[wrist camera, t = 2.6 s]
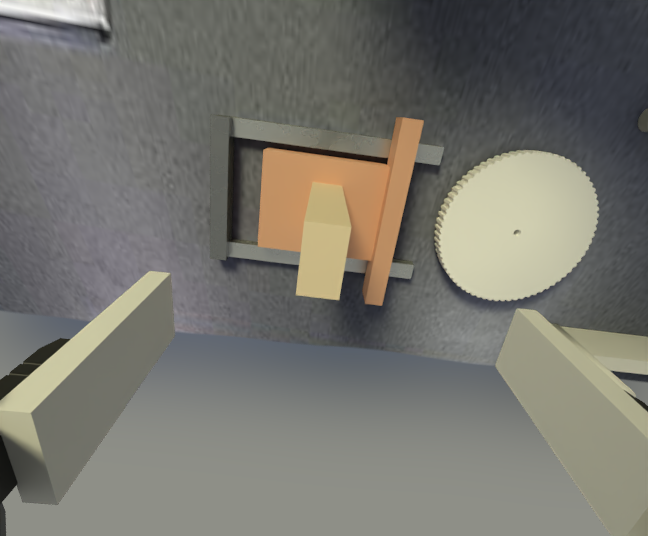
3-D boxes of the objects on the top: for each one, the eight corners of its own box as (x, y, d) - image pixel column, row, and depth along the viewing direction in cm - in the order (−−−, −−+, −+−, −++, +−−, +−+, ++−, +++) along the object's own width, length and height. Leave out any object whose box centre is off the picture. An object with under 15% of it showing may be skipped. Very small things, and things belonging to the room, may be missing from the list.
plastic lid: (601, 151, 31) (623, 154, 29) (554, 291, 37) (570, 303, 34) (444, 146, 31) (453, 148, 29) (421, 287, 36) (428, 299, 34)
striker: (259, 273, 35) (220, 367, 22) (271, 99, 29) (224, 85, 16) (376, 287, 36) (405, 387, 23) (412, 120, 30) (482, 122, 16)
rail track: (216, 250, 35) (209, 258, 33) (217, 114, 30) (210, 114, 28) (408, 274, 36) (413, 283, 34) (440, 146, 31) (448, 148, 29)
